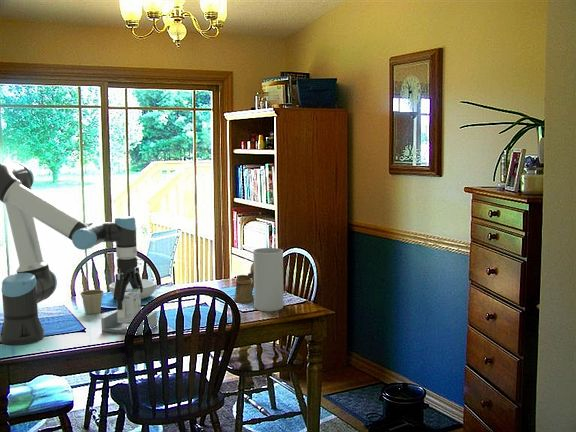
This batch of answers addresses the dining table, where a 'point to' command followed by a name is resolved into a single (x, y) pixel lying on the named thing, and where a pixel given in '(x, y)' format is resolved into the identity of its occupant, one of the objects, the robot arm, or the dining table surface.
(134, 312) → the light bulb box
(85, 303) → the flower pot
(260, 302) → the cylinder vase
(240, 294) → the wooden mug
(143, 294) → the serving bowl
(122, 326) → the end holder
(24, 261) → the robot arm
